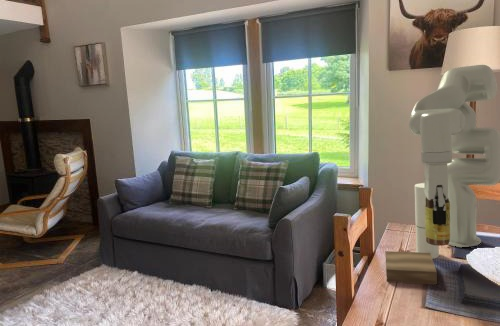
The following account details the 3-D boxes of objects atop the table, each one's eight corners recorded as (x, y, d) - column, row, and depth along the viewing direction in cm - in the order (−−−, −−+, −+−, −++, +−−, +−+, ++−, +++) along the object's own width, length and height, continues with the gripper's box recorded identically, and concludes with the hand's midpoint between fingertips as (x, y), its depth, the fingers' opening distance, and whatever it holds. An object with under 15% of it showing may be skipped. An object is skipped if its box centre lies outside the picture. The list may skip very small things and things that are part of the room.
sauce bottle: (440, 248, 101) (438, 176, 99) (420, 242, 106) (418, 174, 104) (456, 243, 104) (454, 173, 102) (435, 237, 109) (433, 171, 107)
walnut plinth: (385, 262, 128) (385, 251, 127) (430, 264, 124) (430, 252, 123) (386, 281, 115) (386, 269, 114) (436, 284, 110) (436, 271, 110)
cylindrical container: (441, 258, 127) (440, 187, 123) (419, 258, 128) (417, 188, 124) (435, 250, 134) (434, 182, 130) (414, 250, 135) (412, 183, 131)
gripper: (417, 152, 111) (419, 210, 114) (424, 163, 95) (426, 230, 98) (446, 151, 109) (446, 210, 111) (458, 162, 92) (458, 231, 95)
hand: (437, 219), depth 105 cm, fingers closed on sauce bottle, 6 cm apart
